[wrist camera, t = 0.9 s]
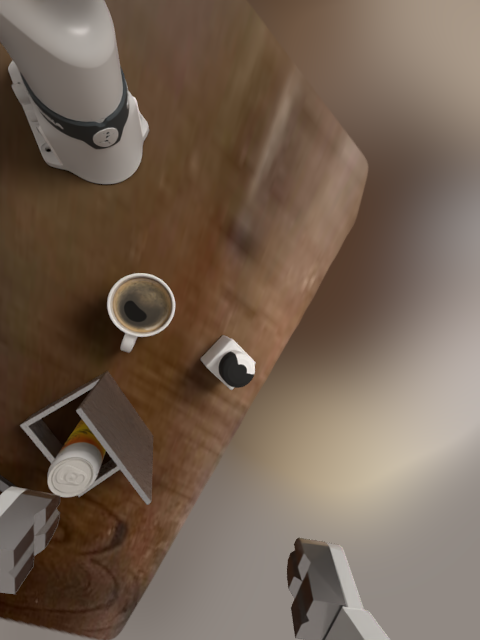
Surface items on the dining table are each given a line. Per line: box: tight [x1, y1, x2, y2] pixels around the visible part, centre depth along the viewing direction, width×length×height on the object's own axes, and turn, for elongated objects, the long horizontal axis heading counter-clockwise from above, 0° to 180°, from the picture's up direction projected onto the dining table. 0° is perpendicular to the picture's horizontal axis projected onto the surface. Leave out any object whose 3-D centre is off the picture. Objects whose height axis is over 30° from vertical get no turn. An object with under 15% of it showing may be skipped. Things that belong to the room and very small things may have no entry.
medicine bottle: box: [200, 335, 256, 390], centre depth 49 cm, size 7×7×12 cm
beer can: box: [47, 419, 106, 497], centre depth 41 cm, size 6×6×15 cm
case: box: [20, 371, 153, 505], centre depth 39 cm, size 16×14×18 cm
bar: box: [0, 475, 16, 492], centre depth 44 cm, size 10×1×1 cm, turn 41°
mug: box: [107, 273, 175, 353], centre depth 44 cm, size 10×12×11 cm
